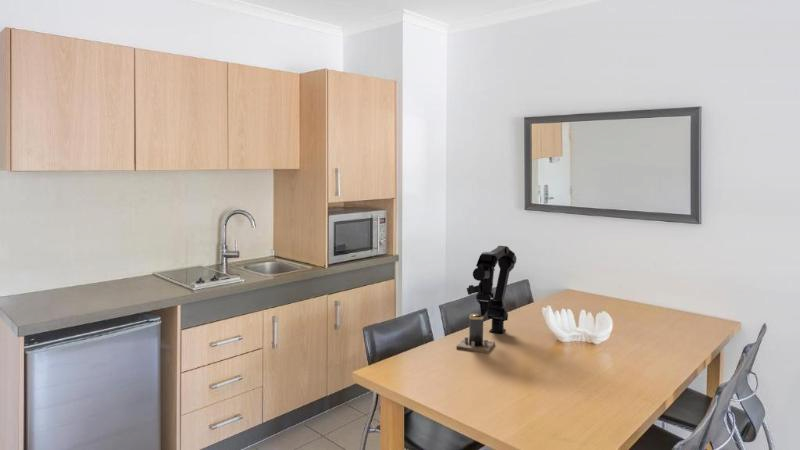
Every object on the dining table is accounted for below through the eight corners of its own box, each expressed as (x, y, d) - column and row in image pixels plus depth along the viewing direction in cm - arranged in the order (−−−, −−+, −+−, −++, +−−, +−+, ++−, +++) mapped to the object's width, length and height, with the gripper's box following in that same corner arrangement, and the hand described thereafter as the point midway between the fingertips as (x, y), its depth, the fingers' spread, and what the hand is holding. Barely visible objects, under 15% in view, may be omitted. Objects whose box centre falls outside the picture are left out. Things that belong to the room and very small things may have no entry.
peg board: (464, 340, 249) (465, 332, 249) (495, 344, 244) (495, 336, 243) (456, 348, 239) (456, 340, 238) (487, 353, 233) (487, 345, 232)
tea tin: (468, 341, 244) (469, 313, 243) (482, 342, 244) (482, 313, 242) (469, 346, 238) (469, 317, 237) (483, 346, 238) (484, 317, 236)
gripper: (471, 277, 258) (468, 310, 257) (466, 279, 240) (463, 314, 239) (494, 280, 255) (491, 313, 254) (491, 282, 237) (488, 318, 236)
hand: (483, 314), depth 246 cm, fingers open, 9 cm apart
